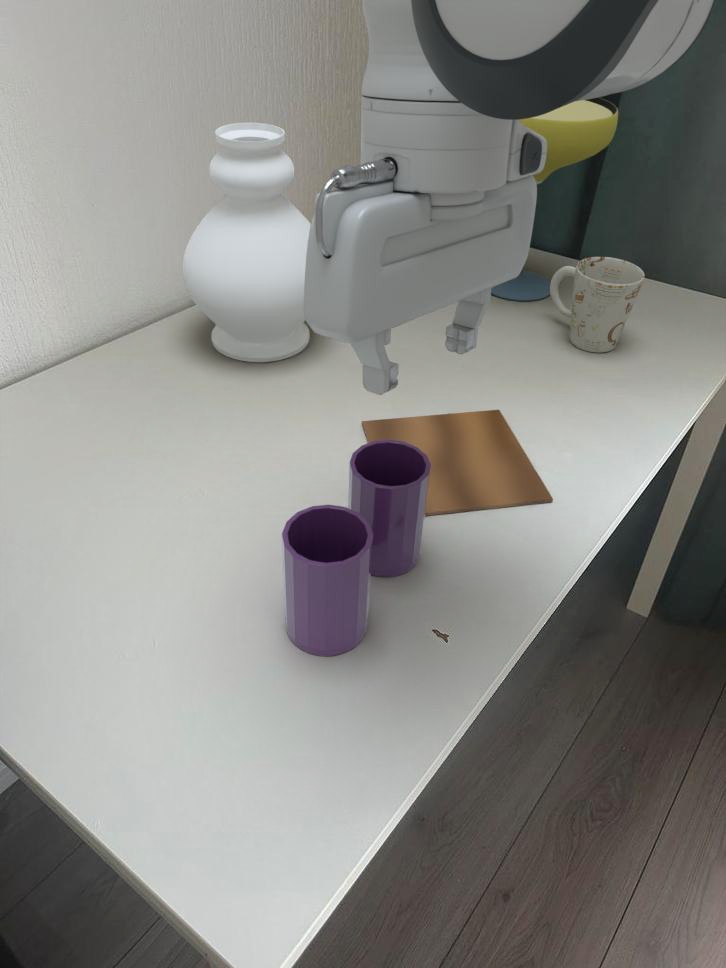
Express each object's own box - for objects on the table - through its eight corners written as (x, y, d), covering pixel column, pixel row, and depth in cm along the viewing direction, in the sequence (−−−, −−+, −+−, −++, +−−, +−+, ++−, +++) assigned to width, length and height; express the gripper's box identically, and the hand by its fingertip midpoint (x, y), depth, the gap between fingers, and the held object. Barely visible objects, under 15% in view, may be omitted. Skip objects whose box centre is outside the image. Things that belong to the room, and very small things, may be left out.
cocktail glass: (444, 300, 110) (465, 111, 94) (468, 253, 124) (490, 81, 108) (572, 322, 106) (616, 128, 91) (582, 271, 120) (622, 95, 104)
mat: (498, 412, 88) (499, 409, 88) (552, 502, 76) (553, 499, 76) (361, 423, 85) (361, 420, 85) (394, 519, 73) (395, 516, 73)
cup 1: (358, 589, 66) (362, 500, 60) (374, 650, 61) (381, 560, 55) (281, 599, 65) (277, 509, 59) (291, 661, 60) (288, 571, 54)
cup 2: (410, 522, 73) (418, 436, 67) (428, 572, 68) (439, 484, 62) (341, 530, 72) (343, 443, 66) (354, 581, 67) (358, 492, 61)
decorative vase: (224, 298, 108) (208, 104, 92) (346, 318, 105) (351, 120, 89) (166, 359, 95) (135, 144, 79) (303, 384, 91) (300, 165, 75)
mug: (599, 364, 98) (619, 290, 91) (522, 326, 105) (536, 256, 98) (637, 344, 102) (658, 273, 96) (560, 310, 109) (575, 241, 103)
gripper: (365, 177, 37) (362, 434, 44) (560, 141, 51) (534, 341, 58) (272, 164, 41) (283, 404, 48) (479, 133, 54) (463, 323, 61)
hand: (422, 368), depth 53 cm, fingers open, 8 cm apart
